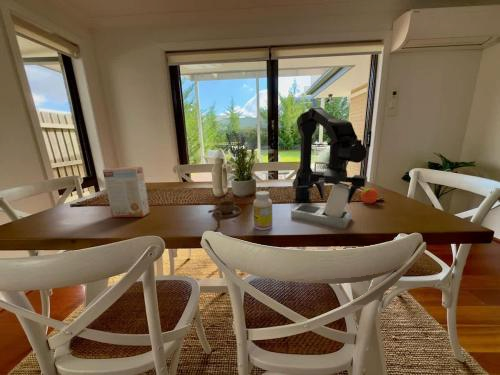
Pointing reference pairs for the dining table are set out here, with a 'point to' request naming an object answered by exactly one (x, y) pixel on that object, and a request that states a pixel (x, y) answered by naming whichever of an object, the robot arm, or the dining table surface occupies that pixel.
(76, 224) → the dining table surface
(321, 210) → the grey compartment tray
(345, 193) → the can
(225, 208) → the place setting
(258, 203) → the supplement bottle
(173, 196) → the dining table surface
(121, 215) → the cracker box
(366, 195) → the clementine
